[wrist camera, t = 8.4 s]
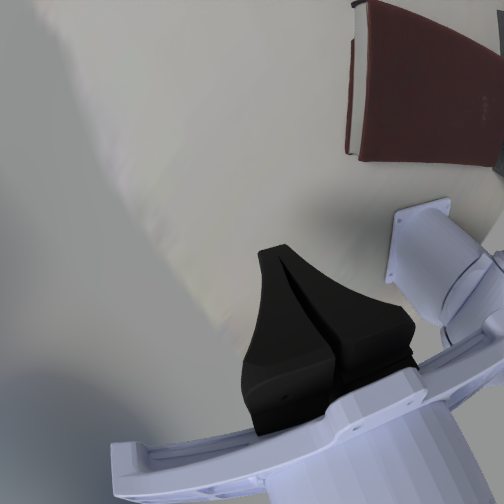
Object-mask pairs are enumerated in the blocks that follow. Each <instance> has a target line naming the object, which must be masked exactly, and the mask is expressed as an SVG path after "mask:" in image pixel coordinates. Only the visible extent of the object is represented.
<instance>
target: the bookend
mask: <svg viewBox="0 0 504 504" xmlns="http://www.w3.org/2000/svg"><path fill="white" fill-rule="evenodd" d="M497 15H498V24H499V34H500V49H501V57H502V58H504V11H501V10H497ZM493 170H494V171H495V172H497V173H498V174H500V175H502V176H503V177H504V137H503V142H502V146H501V150H500V153H499V157H498V161H497V163H496V165H495V167H493Z"/></svg>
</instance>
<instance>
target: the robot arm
mask: <svg viewBox="0 0 504 504" xmlns="http://www.w3.org/2000/svg"><path fill="white" fill-rule="evenodd" d="M450 205H451V199H450V198H449V197H446V198H442V199H439V200H435V201H431V202H428V203H424V204H421V205H417V206H413V207H410V208H406V209H402V210H399V211H397V212H396V213H395V216H394V224H393V232H392V239H391V247H390V253H389V260H388V266H387V272H386V278H385V282H386V283H387V284H390V283H393V282H394V283H395V284H396V286H397V287H398V288H399V290H400V291H401V292H402V293H403V295H404V296H405V297H406V299H407V300H408V301H409V302H410V304H411V305H412V306H413V308H414V309H415V310H416V312H417V313H418V314H419V316H420V317H421V318H423V319H424V320H426V321H427V322H429V323H431V324H434V325H439V326H441V325H443V326H442V328H441V330H440V334H441V340H442V345H443V347H444V351H442V352H440V353H439V354H437V355H435V356H433V357H431V358H430V359H428V360H426V361H424V362H422V363H420V364H419V365H417V363H416V362H415V360H414V359H413V357H412V354H413V351H412V349H411V348H410V346H409V345H410V342H411V340H412V337H413V335H414V332H415V328H416V327H415V323H414V322H413V320H412V319H411V317H410V316H409V315H408V314H407V312H406V311H405V310H404V309H403V308H402V307H401V306H397V305H393V304H389V303H385V302H382V301H378V300H376V299H373V298H370V297H367V296H364V295H362V294H360V293H357V292H355V291H353V290H350V289H348V288H346V287H344V286H343V285H341V284H339V283H337V282H335V281H334V280H332V279H330V278H329V277H327V276H326V275H324V274H323V273H321V272H320V271H318V270H317V269H316V268H314V267H313V266H312V265H310V264H309V263H308V262H306V261H305V260H304V259H303V258H301V257H300V256H299V255H298V254H297V253H296V252H294V251H293V250H292V249H291V248H290V247H289V246H288V245H286V244H283V245H279V246H275V247H272V248H268V249H265V250H261V251H259V252H258V258H259V263H260V269H261V274H262V289H261V301H260V308H259V314H258V318H257V323H256V327H255V330H254V334H253V337H252V340H251V343H250V346H249V348H248V351H247V353H246V355H245V358H244V360H243V367H242V376H241V391H242V395H243V398H244V402H245V405H246V406H247V408H248V410H249V412H250V414H251V418H252V421H253V425H254V428H250V429H246V430H242V431H238V432H234V433H229V434H224V435H220V436H215V437H210V438H204V439H199V440H193V441H187V442H181V443H174V444H167V445H160V446H150V447H147V446H146V445H144V444H143V443H141V442H136V441H129V442H116V443H111V463H112V480H113V493H114V496H115V497H119V498H122V499H125V500H130V501H133V502H137V503H142V504H162V503H184V502H198V501H210V500H219V499H227V498H234V497H241V496H247V495H254V494H259V493H264V492H267V493H268V496H269V499H270V503H271V504H496V502H495V499H494V497H493V495H492V493H491V490H490V488H489V486H488V484H487V481H486V479H485V477H484V475H483V473H482V471H481V469H480V467H479V465H478V463H477V461H476V459H475V457H474V455H473V453H472V451H471V449H470V447H469V445H468V443H467V441H466V439H465V438H464V436H463V434H462V432H461V430H460V428H459V426H458V425H457V423H456V421H455V419H454V417H453V416H452V414H451V411H452V410H454V409H455V408H457V407H458V406H459V405H461V404H462V403H463V402H465V401H466V400H467V399H469V398H470V397H471V396H472V395H474V394H475V393H476V392H477V391H479V390H480V389H481V388H483V387H492V386H500V385H504V250H503V251H496V252H495V254H494V255H493V256H492V255H490V254H489V253H488V252H487V251H486V250H485V249H484V248H483V247H482V246H481V245H479V244H478V243H477V242H476V241H475V240H474V239H473V238H472V237H471V236H469V235H468V234H467V233H466V232H465V231H464V230H463V229H461V228H460V227H459V226H458V225H457V224H456V223H454V222H453V221H452V220H451V219H450V218H448V215H449V210H450ZM398 220H399V221H398Z"/></svg>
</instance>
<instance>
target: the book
mask: <svg viewBox="0 0 504 504" xmlns="http://www.w3.org/2000/svg"><path fill="white" fill-rule="evenodd" d="M351 6H352V8H355V38H354V39H353V40H351V65H350V82H349V97H348V111H347V125H346V139H345V153H346V154H348V155H351V154H356V155H358V156H359V159H358V160H359V161H363V162H372V161H382V162H425V163H451V164H463V165H478V166H484V167H495V165H496V163H497V161H498V157H499V153H500V150H501V146H502V142H503V137H504V58H502V57H501V56H499V55H498V54H496V53H494V52H493V51H491V50H489V49H488V48H486V47H484V46H482V45H480V44H479V43H477V42H475V41H473V40H471V39H469V38H468V37H466V36H464V35H462V34H460V33H458V32H456V31H454V30H452V29H450V28H448V27H445V26H443V25H441V24H438V23H436V22H434V21H432V20H430V19H428V18H425V17H423V16H420V15H418V14H415V13H413V12H410V11H408V10H405V9H403V8H400V7H397V6H394V5H391V4H388V3H385V2H382V1H379V0H357V1H354V2H352V3H351Z"/></svg>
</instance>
